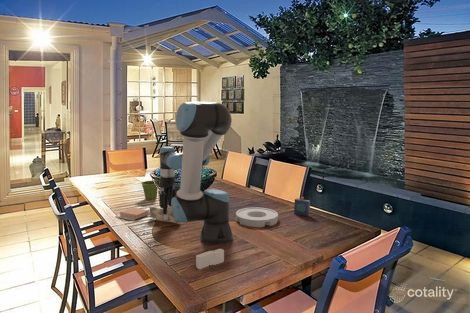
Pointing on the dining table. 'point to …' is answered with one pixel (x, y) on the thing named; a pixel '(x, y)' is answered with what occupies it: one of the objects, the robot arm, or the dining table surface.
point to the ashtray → (256, 217)
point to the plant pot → (149, 190)
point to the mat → (127, 217)
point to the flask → (302, 207)
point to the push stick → (161, 213)
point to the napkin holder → (209, 258)
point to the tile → (134, 213)
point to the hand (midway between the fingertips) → (168, 218)
